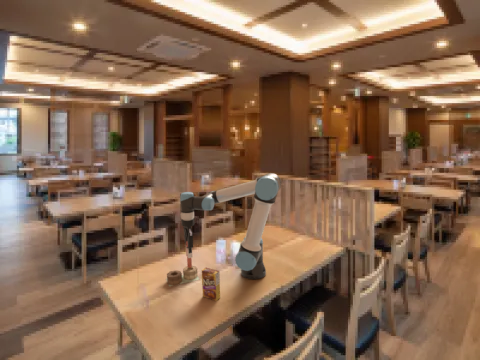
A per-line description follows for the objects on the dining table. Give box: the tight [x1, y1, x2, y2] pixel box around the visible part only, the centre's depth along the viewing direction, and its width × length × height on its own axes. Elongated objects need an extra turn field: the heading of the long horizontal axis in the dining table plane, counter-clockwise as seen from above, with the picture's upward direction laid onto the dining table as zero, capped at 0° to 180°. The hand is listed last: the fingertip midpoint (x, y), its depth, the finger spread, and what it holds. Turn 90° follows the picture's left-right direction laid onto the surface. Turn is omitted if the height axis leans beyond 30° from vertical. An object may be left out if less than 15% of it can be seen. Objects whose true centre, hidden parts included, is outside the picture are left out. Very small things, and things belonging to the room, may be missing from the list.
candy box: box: [201, 267, 221, 302], centre depth 154 cm, size 9×4×15 cm, turn 61°
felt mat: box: [165, 274, 200, 287], centre depth 174 cm, size 18×10×1 cm, turn 114°
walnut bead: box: [166, 270, 183, 286], centre depth 171 cm, size 8×8×5 cm
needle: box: [185, 241, 193, 268], centre depth 175 cm, size 3×3×16 cm
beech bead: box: [182, 265, 199, 280], centre depth 177 cm, size 8×8×5 cm
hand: (189, 256), depth 175 cm, fingers closed on needle, 2 cm apart
